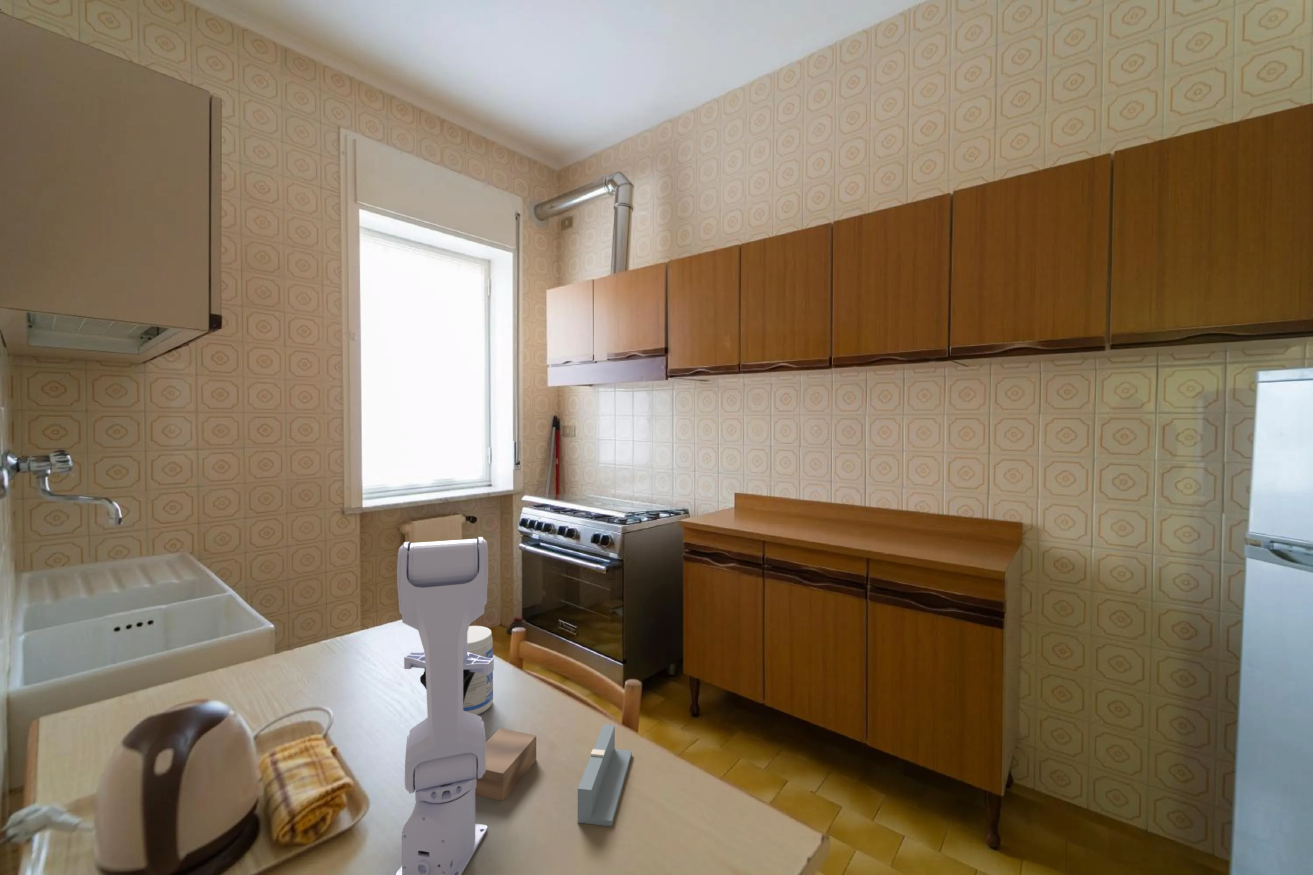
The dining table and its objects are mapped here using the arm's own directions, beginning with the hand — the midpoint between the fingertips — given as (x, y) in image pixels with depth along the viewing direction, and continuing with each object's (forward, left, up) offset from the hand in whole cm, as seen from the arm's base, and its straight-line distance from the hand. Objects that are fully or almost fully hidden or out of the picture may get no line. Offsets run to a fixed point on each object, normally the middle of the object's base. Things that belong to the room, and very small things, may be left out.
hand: (449, 712), depth 86 cm
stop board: (0, -26, -9) cm, 28 cm away
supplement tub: (+18, +6, -10) cm, 21 cm away
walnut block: (0, -9, -10) cm, 13 cm away
